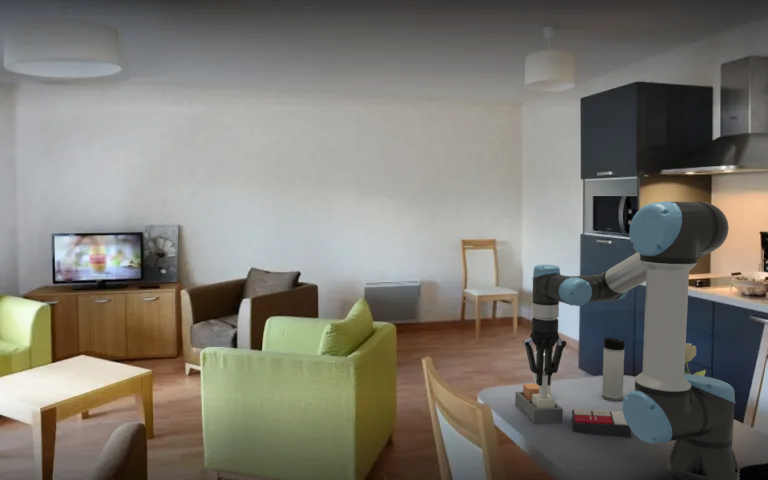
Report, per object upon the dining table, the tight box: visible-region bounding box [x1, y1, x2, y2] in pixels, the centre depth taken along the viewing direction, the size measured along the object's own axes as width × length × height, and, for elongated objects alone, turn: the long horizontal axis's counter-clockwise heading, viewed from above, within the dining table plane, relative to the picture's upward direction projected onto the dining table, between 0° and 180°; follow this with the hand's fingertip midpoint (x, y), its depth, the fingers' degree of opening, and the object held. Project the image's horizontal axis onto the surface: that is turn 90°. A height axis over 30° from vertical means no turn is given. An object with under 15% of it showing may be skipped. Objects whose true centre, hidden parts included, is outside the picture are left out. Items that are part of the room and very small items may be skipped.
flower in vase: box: [684, 342, 707, 376], centre depth 169 cm, size 13×11×25 cm
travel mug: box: [601, 337, 625, 402], centre depth 196 cm, size 6×7×20 cm
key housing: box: [514, 391, 564, 424], centre depth 183 cm, size 16×9×4 cm, turn 7°
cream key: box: [532, 394, 556, 409], centre depth 179 cm, size 5×5×4 cm
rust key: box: [522, 383, 539, 400], centre depth 187 cm, size 5×5×4 cm
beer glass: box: [532, 349, 555, 397], centre depth 197 cm, size 7×7×15 cm
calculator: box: [571, 408, 632, 439], centre depth 172 cm, size 11×4×15 cm
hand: (543, 395), depth 179 cm, fingers closed
